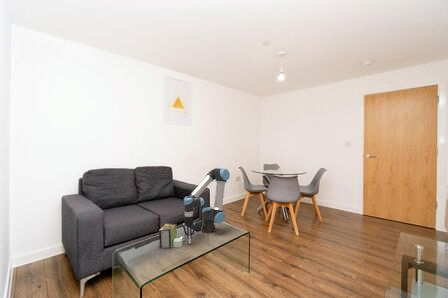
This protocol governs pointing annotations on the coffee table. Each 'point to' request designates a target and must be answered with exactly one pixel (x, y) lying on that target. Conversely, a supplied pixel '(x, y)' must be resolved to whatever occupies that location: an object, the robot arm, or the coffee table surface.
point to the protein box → (167, 235)
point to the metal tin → (182, 237)
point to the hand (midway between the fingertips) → (189, 242)
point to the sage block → (177, 242)
